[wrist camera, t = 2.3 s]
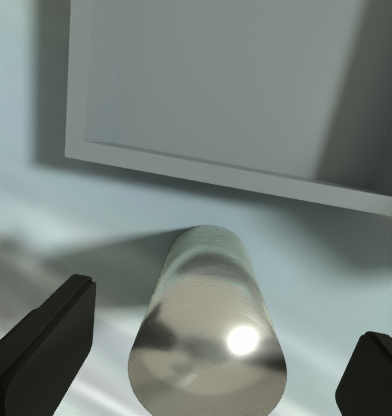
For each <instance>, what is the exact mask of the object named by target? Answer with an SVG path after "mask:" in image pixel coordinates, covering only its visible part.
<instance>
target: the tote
mask: <svg viewBox="0 0 392 416" xmlns="http://www.w3.org/2000/svg"><path fill="white" fill-rule="evenodd" d="M65 157H67V158H73V159H78V160H84V161H89V162H95V163H100V164H106V165H111V166H117V167H122V168H128V169H133V170H139V171H144V172H150V173H155V174H161V175H166V176H172V177H177V178H183V179H188V180H194V181H199V182H205V183H210V184H216V185H221V186H227V187H232V188H238V189H243V190H249V191H254V192H260V193H265V194H271V195H276V196H282V197H287V198H293V199H298V200H304V201H309V202H315V203H320V204H326V205H331V206H337V207H342V208H348V209H353V210H359V211H364V212H370V213H375V214H381V215H386V216H392V0H71V7H70V32H69V58H68V83H67V109H66V134H65Z"/></svg>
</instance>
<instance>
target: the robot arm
mask: <svg viewBox="0 0 392 416" xmlns="http://www.w3.org/2000/svg"><path fill="white" fill-rule="evenodd" d="M95 296H96V283H95V282H92V278H91V277H89V276H84V275H79V274H73V275H72V276H71V277H70V278H69V279H68V280H67V281H66V282H65V283H64V284H63V285H62V286H60V287H59V288H58V289H57V290H56V291H55V292H54V293H53V294H52V295H51V296H50V297H49V298H48V299H47V300H46V301H45V302H44V303H43V304H42V305H41V306H40V307H39V308H38V309H34V310H32V311H31V312H30V313H28V314H27V315H26V316H25V317H24V318H23V319H22V320H21V321H20V322H19V323H18V324H17V325H16V326H15V327H14V328H12V329H11V330H10V331H9V332H8V333H7V334H6V335H5V336H4V337H3V338H2V339H1V340H0V416H53V414H54V412H55V411H56V409H57V407H58V406H59V404H60V402H61V400H62V399H63V397H64V395H65V394H66V392H67V390H68V388H69V387H70V385H71V383H72V382H73V380H74V378H75V376H76V375H77V373H78V371H79V370H80V368H81V366H82V364H83V363H84V361H85V359H86V358H87V356H88V354H89V352H90V350H91V347H92V342H93V327H94V311H95ZM335 399H336V403H337V405H338V408H339V410H340V412H341V414H342V416H392V338H391V337H390V336H389V335H386V334H382V333H377V332H371V331H368V332H366V333H365V334H364V335H362V336H361V337H360V338H359V341H358V343H357V345H356V347H355V349H354V352H353V354H352V356H351V358H350V361H349V363H348V365H347V367H346V369H345V372H344V374H343V376H342V378H341V381H340V383H339V385H338V387H337V389H336V392H335Z"/></svg>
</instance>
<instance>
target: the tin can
mask: <svg viewBox="0 0 392 416" xmlns="http://www.w3.org/2000/svg"><path fill="white" fill-rule="evenodd" d="M128 375H129V380H130V384H131V387H132V389H133V392H134V394H135V395H136V397H137V399H138V400H139V402H140V403H141V404H142V405H143V407H144V408H145V409H146V410H147V411H148V412H149V413H150V414H152V415H153V416H267V415H269V414H270V413H271V412H272V410H273V409H274V408H275V407H276V406H277V404H278V402H279V401H280V399H281V397H282V395H283V393H284V390H285V386H286V380H287V369H286V363H285V359H284V355H283V353H282V350H281V347H280V344H279V341H278V338H277V336H276V333H275V330H274V327H273V324H272V321H271V319H270V316H269V313H268V310H267V307H266V304H265V302H264V299H263V296H262V293H261V290H260V287H259V285H258V282H257V279H256V276H255V273H254V270H253V268H252V265H251V262H250V259H249V256H248V253H247V251H246V248H245V246H244V245H243V243H242V242H241V240H240V239H239V238H238V237H237V236H236V235H235V234H233V233H232V232H230V231H229V230H227V229H224V228H222V227H218V226H213V225H203V226H197V227H194V228H191V229H189V230H187V231H185V232H184V233H182V234H181V235H180V236H179V237H178V238H177V239H176V240H175V241H174V243H173V245H172V246H171V249H170V251H169V254H168V256H167V259H166V261H165V264H164V267H163V269H162V272H161V274H160V277H159V280H158V282H157V285H156V287H155V290H154V292H153V295H152V298H151V300H150V303H149V305H148V308H147V310H146V313H145V316H144V318H143V321H142V323H141V326H140V329H139V331H138V334H137V336H136V339H135V341H134V344H133V347H132V349H131V352H130V355H129V360H128Z"/></svg>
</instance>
